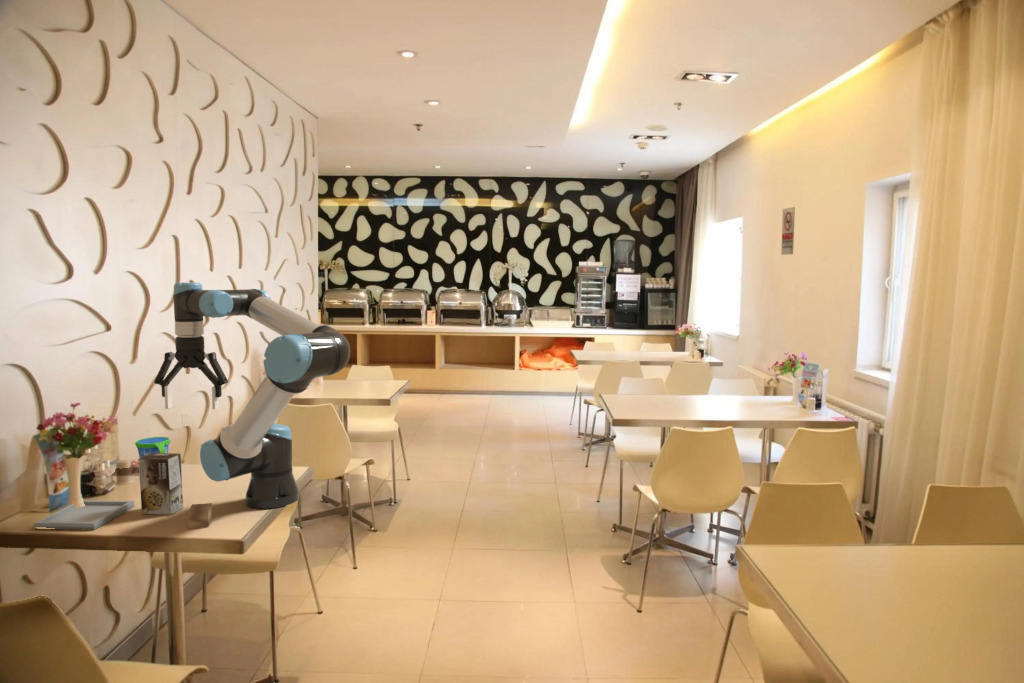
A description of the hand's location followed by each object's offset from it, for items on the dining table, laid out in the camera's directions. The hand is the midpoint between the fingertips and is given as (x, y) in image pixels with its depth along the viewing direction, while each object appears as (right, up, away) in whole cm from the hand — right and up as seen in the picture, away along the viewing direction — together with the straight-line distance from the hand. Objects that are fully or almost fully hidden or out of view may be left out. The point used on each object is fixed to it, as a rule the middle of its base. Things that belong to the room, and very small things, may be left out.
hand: (192, 408), depth 196 cm
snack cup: (-31, -25, +38) cm, 55 cm away
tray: (-25, -29, -10) cm, 40 cm away
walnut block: (+9, -30, -15) cm, 35 cm away
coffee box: (-6, -29, -4) cm, 30 cm away
